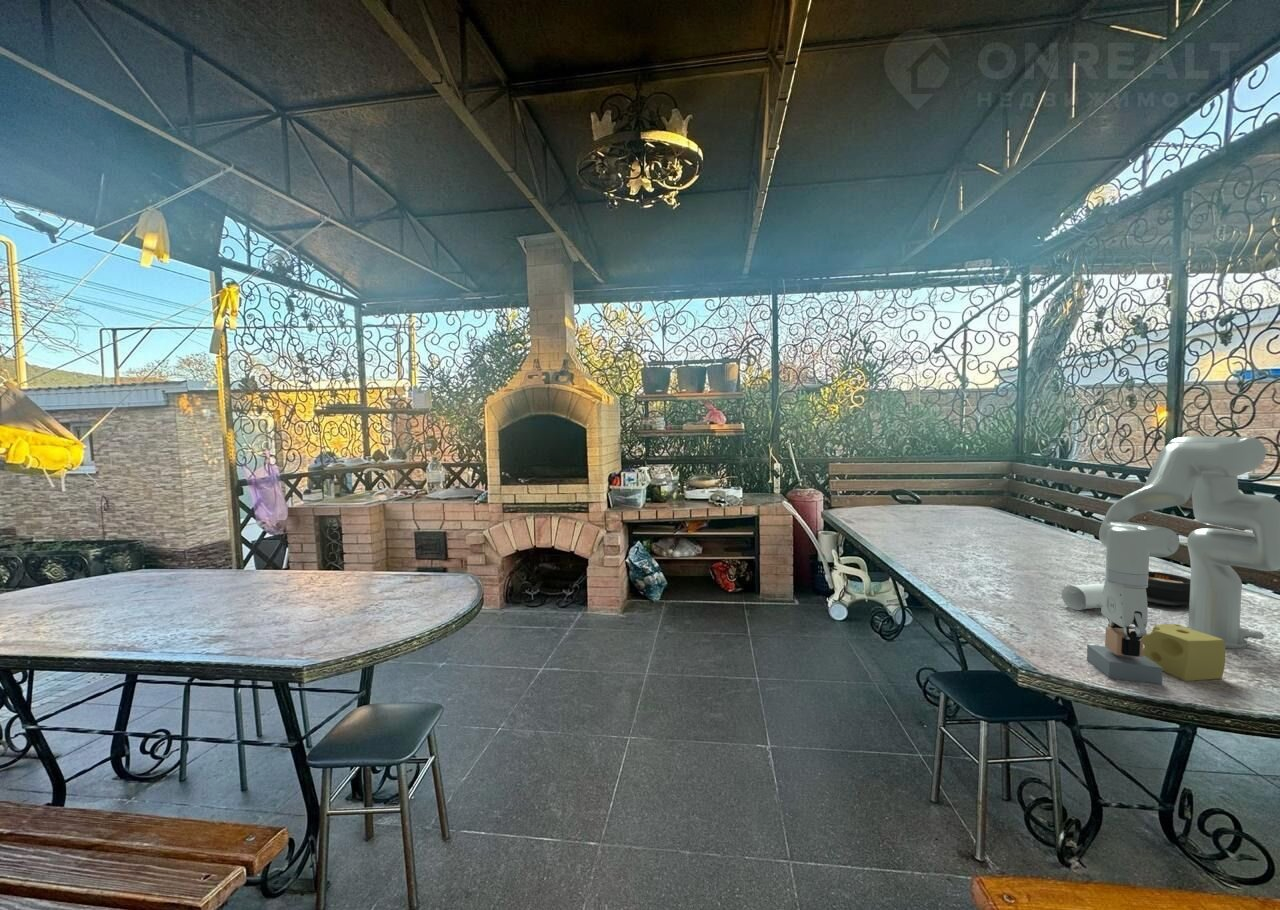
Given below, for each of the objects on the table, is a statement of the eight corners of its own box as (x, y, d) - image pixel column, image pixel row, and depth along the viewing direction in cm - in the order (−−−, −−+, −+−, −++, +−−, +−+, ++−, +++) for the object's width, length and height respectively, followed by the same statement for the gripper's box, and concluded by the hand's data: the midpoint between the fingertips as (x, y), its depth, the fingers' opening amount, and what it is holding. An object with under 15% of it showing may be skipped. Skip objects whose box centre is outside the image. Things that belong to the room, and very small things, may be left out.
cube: (1105, 646, 126) (1105, 626, 126) (1129, 648, 125) (1130, 629, 124) (1116, 654, 121) (1117, 634, 121) (1142, 657, 120) (1143, 637, 120)
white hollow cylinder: (1133, 610, 165) (1134, 586, 164) (1084, 613, 162) (1085, 589, 161) (1107, 602, 172) (1108, 579, 172) (1060, 605, 170) (1061, 582, 169)
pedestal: (1135, 665, 126) (1136, 649, 126) (1161, 684, 117) (1162, 667, 117) (1086, 659, 130) (1087, 644, 129) (1108, 677, 120) (1109, 661, 120)
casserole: (1140, 587, 188) (1141, 565, 187) (1213, 602, 171) (1214, 578, 171) (1111, 598, 176) (1112, 575, 176) (1186, 615, 160) (1187, 589, 159)
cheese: (1138, 662, 128) (1140, 624, 128) (1176, 660, 129) (1178, 622, 129) (1186, 682, 118) (1188, 641, 117) (1227, 680, 119) (1229, 639, 118)
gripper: (1089, 567, 131) (1086, 635, 132) (1128, 586, 115) (1124, 663, 116) (1124, 569, 129) (1122, 638, 130) (1169, 589, 113) (1166, 668, 114)
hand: (1123, 649), depth 123 cm, fingers closed on cube, 4 cm apart
